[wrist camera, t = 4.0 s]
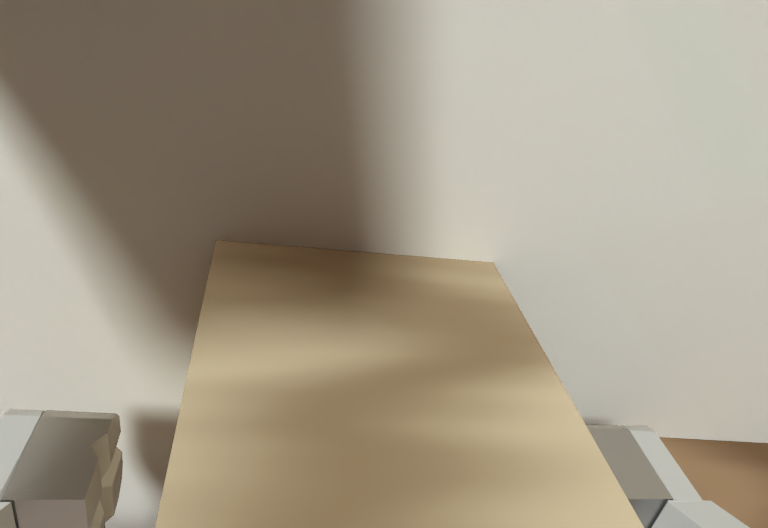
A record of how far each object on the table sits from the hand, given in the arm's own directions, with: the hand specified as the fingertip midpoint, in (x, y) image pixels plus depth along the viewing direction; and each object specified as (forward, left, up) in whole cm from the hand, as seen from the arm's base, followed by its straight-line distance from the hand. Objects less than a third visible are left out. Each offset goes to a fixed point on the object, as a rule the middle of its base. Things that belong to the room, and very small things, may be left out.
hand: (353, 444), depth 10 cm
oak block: (0, 0, -2) cm, 2 cm away
